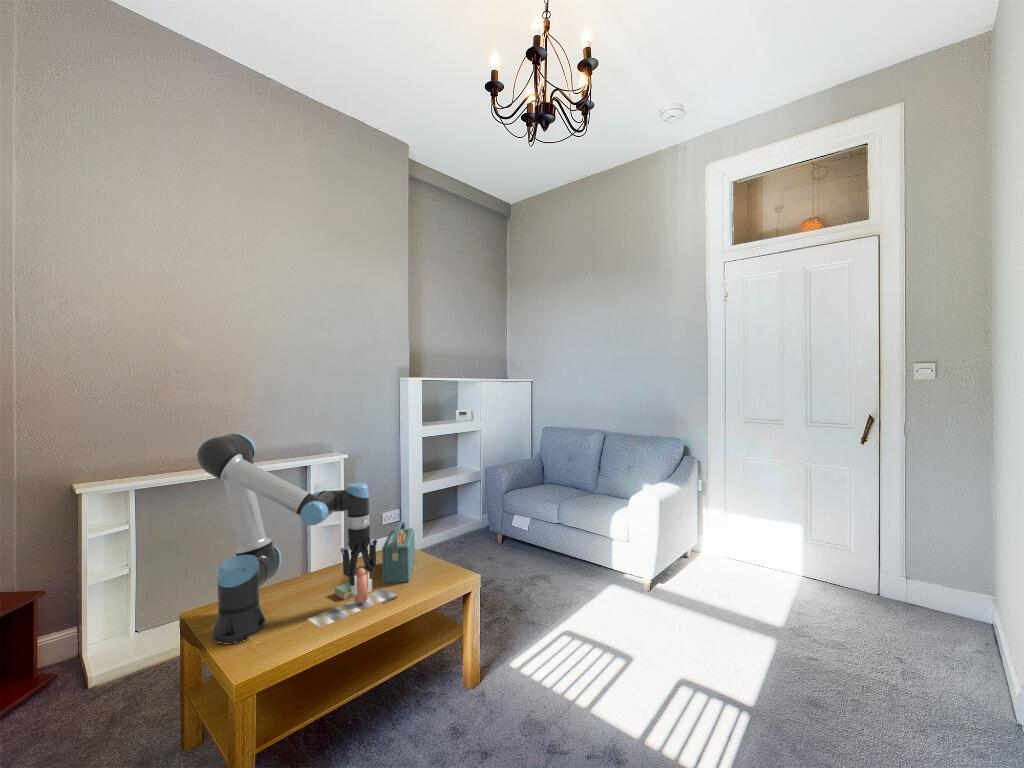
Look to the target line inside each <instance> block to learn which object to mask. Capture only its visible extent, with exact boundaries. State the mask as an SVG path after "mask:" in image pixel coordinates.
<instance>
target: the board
mask: <svg viewBox="0 0 1024 768" xmlns="http://www.w3.org/2000/svg"><path fill="white" fill-rule="evenodd" d="M367 595H368V600H367V601H365V602H362V603H356V602H355V599H353V600H351V601H349V602H346V603H344V604H342V605H339V606H336V607H334V608H331V609H329V610H327V611H324V612H321V613H319V614H317V615H314V616H311V617H309V618H307V620H308V621H309V622H310V623H312V624H313V625H315V626H317V628H322V627H325V626H328V625H329V624H333V623H334V622H337V621H339V620H342V619H344V618H347V617H349V616H351V615H353V614H356V613H358V612H360V611H363V610H365V609H367V608H369V607H372V606H375V605H376V604H382V605H384V604H386V603H389V602H391V601H393V600H396V599H398V594H395V593H394V592H391V591H389V590H387V589H385V588H381V589H379V590H376V591H372V592H370V593H367Z"/></svg>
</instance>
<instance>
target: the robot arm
mask: <svg viewBox="0 0 1024 768" xmlns="http://www.w3.org/2000/svg"><path fill="white" fill-rule="evenodd" d="M256 450H257V447H256V444H255V443H254V441H253V440H252V438H250V436H247V435H246V434H242V433H231V434H226V435H222V436H221V435H220V436H215V437H211V438H208V439H207V440H205V441H204V442H203V443H202V444H201V445H200V447H199V448H198V449H197V453H196V460H197V463H198V465H199V466H200V468H201V469H202V470H203V471H204V472H206V473H208V474H209V475H211V476H212V477H215V478H217V479H218V480H220V481H223V484H224V488H225V492H226V496H227V499H228V500H227V501H228V503H229V508H230V513H231V515H232V516H231V517H232V520H233V524H234V526H233V527H234V530H235V534H236V538H237V541H238V542H237V543H238V547H237V549H236V550H235V555H236V556H234V557H233V558H231V557H230V558H229V559H226V560H225V561H223V562H222V563H221V564H220V566H219V568H218V570H217V579H216V581H217V603H218V605H217V606H218V614H217V616H216V621H215V622H214V623H215V624H214V626H213V628H212V629H213V630H212V641H213V640H214V641H216V642H221V643H234V642H239V643H241V642H240V641H243V640H246V639H249V640H250V638H249V637H251V636H252V635H255V634H257V633H258V632H260V631H261V630H262V629H264V628H265V626H266V624H267V620H266V617H265V614H264V612H263V609H262V607H261V604H260V588H261V586H263V585H264V584H265V583H266V582H267V581H268V580H269V579H272V577H273V576H275V574H276V573H277V571H278V570H279V569H280V566H281V564H282V554H281V551H280V549H279V548H278V547H276V546H275V545H274V543H273V540H272V538H269V537H267V535H266V532H265V526H264V524H263V523H264V522H263V518H262V514H261V510H260V506H259V501H258V498H257V495H259V496H260V497H263V498H265V499H266V500H269V501H271V502H272V503H275V504H276V505H278V506H281V507H282V508H285V509H287V510H289V511H291V512H292V513H295V515H296V514H297V515H298V516H300V519H301V520H302V522H303V523H304V524H305V525H308V526H317V525H318V524H321V523H322V522H324V521H325V520H326V519H327V518H328V517H329V516H330V515H332V514H333V513H336V512H347V527H348V529H347V539H348V543H347V546H345V547H344V548H343V547H342V548H340V553H341V554H342V571H343V576H346V577H348V582H349V584H350V585H351V593H353V594H355V595H356V594H357V576H356V575H355V572H356V570H357V563H358V558H359V557H360V554H361V556H362V560H363V565H364V569H365V572H366V574H367V590H369V589H370V579H372V571H373V570H374V568H375V567H376V566H377V548H376V547H377V544H378V540H376V539H374V538H371V537H370V535H371V532H370V531H371V529H370V495H369V487H368V486H369V485H368V484H367V483H365V482H355V483H354V482H353V483H350V484H347V485H346V489H340V490H339V489H338V490H325V489H324V490H319V491H314V492H313V493H311V492H308V491H306V490H304V489H302V488H301V487H299V486H297V485H295V484H292V483H291V482H289V481H286V480H284V479H283V478H281V477H279V476H277V475H276V474H273V473H271V472H269V471H267V470H265V469H264V468H261V467H259V466H257V465H255V464H254V460H253V459H254V457H255V455H256V452H257V451H256ZM368 548H369V549H368ZM214 641H213V642H214ZM246 641H247V640H246ZM243 642H244V641H243ZM234 644H235V643H234Z"/></svg>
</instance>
